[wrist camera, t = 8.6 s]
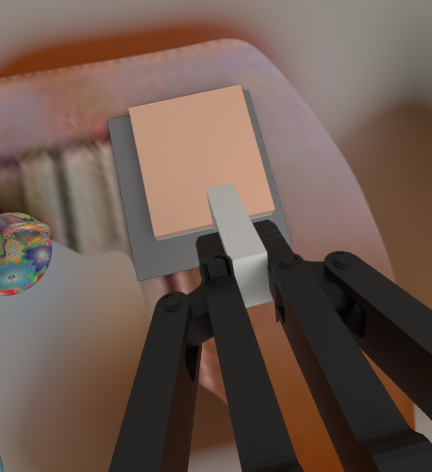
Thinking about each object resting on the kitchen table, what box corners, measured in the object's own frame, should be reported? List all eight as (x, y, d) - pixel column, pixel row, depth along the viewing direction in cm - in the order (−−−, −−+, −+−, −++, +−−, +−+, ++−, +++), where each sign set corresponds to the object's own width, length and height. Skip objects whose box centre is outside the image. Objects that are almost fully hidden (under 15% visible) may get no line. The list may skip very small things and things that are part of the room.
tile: (275, 209, 32) (240, 84, 34) (154, 237, 31) (128, 108, 34) (271, 214, 34) (239, 95, 36) (158, 240, 33) (133, 118, 36)
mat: (290, 246, 34) (292, 244, 33) (139, 281, 33) (137, 280, 33) (247, 94, 37) (248, 90, 37) (109, 123, 37) (107, 120, 36)
